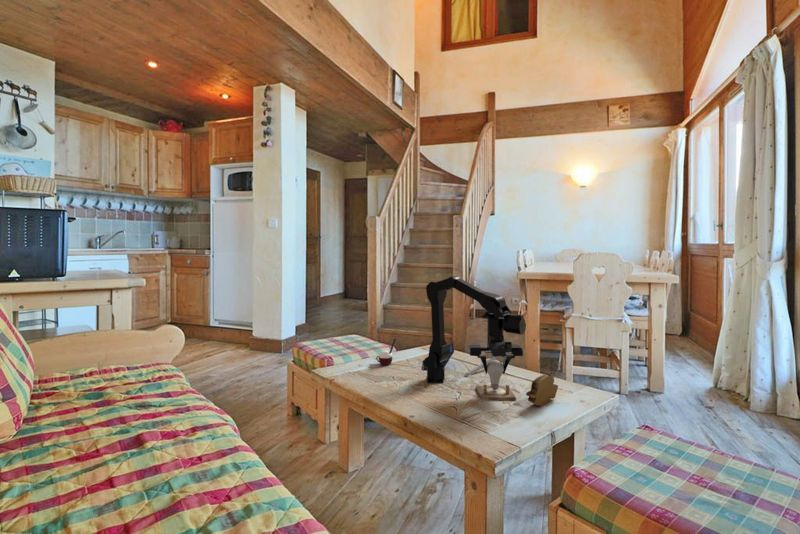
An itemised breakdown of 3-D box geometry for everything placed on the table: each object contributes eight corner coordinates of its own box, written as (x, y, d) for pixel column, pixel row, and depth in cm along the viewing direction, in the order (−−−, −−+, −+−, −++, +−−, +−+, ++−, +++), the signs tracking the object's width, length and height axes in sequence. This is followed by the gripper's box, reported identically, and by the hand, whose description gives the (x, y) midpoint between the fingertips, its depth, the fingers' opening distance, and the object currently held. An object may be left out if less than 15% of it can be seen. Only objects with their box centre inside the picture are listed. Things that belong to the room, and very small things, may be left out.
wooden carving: (546, 395, 152) (546, 368, 151) (558, 399, 149) (559, 371, 148) (523, 408, 140) (523, 379, 140) (535, 412, 137) (536, 382, 137)
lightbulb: (484, 387, 157) (484, 357, 156) (500, 386, 157) (500, 357, 157) (489, 393, 151) (489, 362, 150) (505, 392, 151) (506, 362, 150)
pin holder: (481, 400, 148) (481, 388, 148) (476, 388, 160) (476, 377, 160) (515, 400, 148) (515, 388, 148) (508, 388, 160) (508, 377, 160)
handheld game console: (424, 360, 199) (424, 341, 198) (453, 361, 197) (453, 341, 197) (423, 370, 183) (422, 349, 183) (454, 371, 182) (454, 350, 181)
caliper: (494, 367, 188) (494, 353, 187) (496, 367, 187) (496, 353, 187) (464, 377, 174) (464, 361, 174) (466, 377, 174) (466, 362, 173)
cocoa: (374, 364, 193) (372, 338, 192) (384, 361, 198) (382, 336, 197) (389, 368, 187) (387, 341, 186) (399, 364, 191) (397, 338, 191)
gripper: (472, 336, 145) (472, 380, 146) (527, 336, 144) (526, 381, 145) (468, 329, 156) (467, 370, 157) (519, 329, 155) (518, 371, 156)
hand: (494, 373), depth 154 cm, fingers closed on lightbulb, 6 cm apart
